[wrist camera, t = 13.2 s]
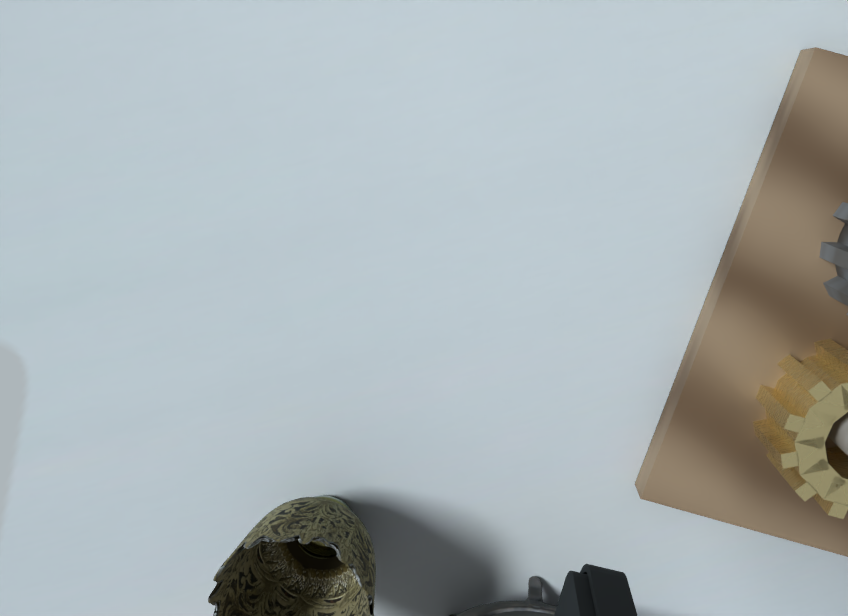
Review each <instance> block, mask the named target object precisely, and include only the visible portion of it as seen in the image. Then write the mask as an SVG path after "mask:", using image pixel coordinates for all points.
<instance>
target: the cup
mask: <svg viewBox="0 0 848 616" xmlns="http://www.w3.org/2000/svg"><path fill="white" fill-rule="evenodd" d="M375 574H376V566H375V554H374V549H373V545H372V541H371V538H370V536H369V534H368V532H367V530H366V528H365V526H364V525H363V523H362V522H361V521H360V519H359V518H358V517H357V516H356V515H355V514H354V513H353V512H352V510H351V509H350V508H349V506H348V505H347V504H346V503H344V502H343V501H341V500H340V499H338V498H335V497H332V496H325V495H323V496H316V497H306V498H299V499H295V500H292V501H289V502H286V503H284V504H282V505H280V506H278V507H277V508H275V509H274V510H272V511H271V512H270V513H268V514H267V515H266V516H265V517H264V518H263V519H262V520H261V521H260V522H259V523H258V524H257V525H256V526H255V527H254V528H253V529H252V530H251V531H250V533H249V534H248V535H247V536H246V537H245V538H244V540H243V541H242V542H241V543H240V544H239V546H238V547H237V548H236V549H235V551H234V552H233V553H232V554H231V556H230V557H229V558H228V559H227V560H226V561H225V562H224V563H223V565H222V566H221V567H220V569H219V570H218V572H217V574H216V575H215V577H214V581H216V582H217V585H216V587H215V588H214V590H213V591H212V593H211V594H210V596H209V598H208V602H209V603H211V604H212V605H215V611H214V614H213V616H374V613H373V610H374V595H375Z"/></svg>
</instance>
